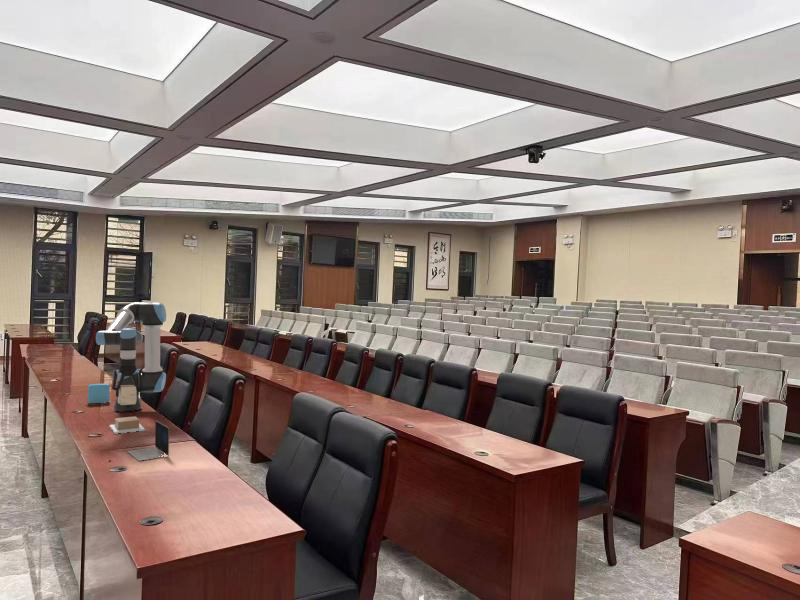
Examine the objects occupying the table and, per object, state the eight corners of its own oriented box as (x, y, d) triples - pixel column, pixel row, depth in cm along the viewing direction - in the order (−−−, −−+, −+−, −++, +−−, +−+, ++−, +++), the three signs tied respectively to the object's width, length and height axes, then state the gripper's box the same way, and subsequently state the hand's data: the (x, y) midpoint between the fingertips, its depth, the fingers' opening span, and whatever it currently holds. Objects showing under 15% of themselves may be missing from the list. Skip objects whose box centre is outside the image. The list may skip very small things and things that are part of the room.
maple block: (118, 403, 308) (119, 385, 308) (133, 401, 312) (133, 384, 312) (120, 405, 302) (121, 387, 302) (135, 404, 306) (135, 386, 306)
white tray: (109, 426, 311) (109, 417, 311) (138, 423, 319) (138, 414, 319) (114, 434, 296) (115, 424, 296) (144, 430, 304) (144, 421, 304)
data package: (109, 402, 377) (109, 383, 377) (109, 403, 373) (109, 384, 373) (87, 403, 371) (88, 384, 371) (88, 404, 367) (88, 385, 367)
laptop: (127, 452, 265) (127, 423, 265) (156, 448, 273) (156, 420, 273) (139, 462, 251) (139, 431, 251) (169, 457, 259) (169, 427, 259)
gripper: (147, 356, 316) (146, 399, 316) (105, 358, 305) (104, 402, 305) (149, 358, 310) (149, 402, 310) (107, 359, 299) (107, 405, 299)
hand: (127, 402), depth 307 cm, fingers closed on maple block, 7 cm apart
